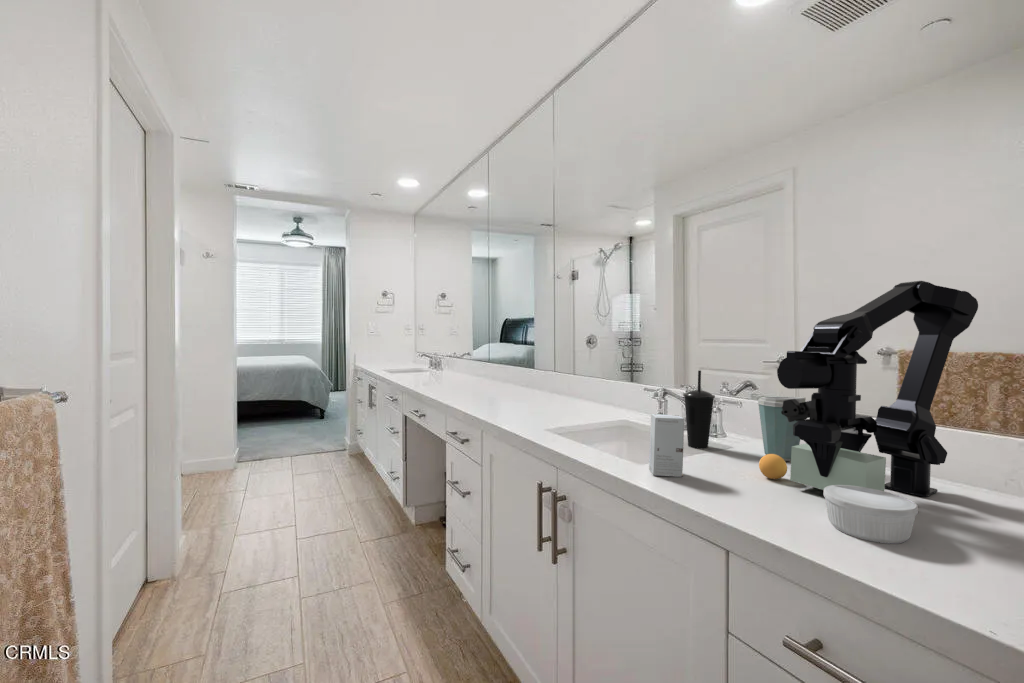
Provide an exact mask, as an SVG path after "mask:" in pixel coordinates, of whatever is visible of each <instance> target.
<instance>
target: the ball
mask: <svg viewBox="0 0 1024 683" xmlns="http://www.w3.org/2000/svg"><path fill="white" fill-rule="evenodd" d="M758 467H759V471H760V472H761V474H762V475H763V476H765V478H768V479H771V480H779V479H781V478H784V477H785V476H786V474H787V472H788V465H787V461H785V460H784V459H783V458H782V457H780V456H778V455H776V454H767V455H766V454H764V456H762V457H761V458H760V459H759V463H758Z"/></svg>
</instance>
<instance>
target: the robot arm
mask: <svg viewBox="0 0 1024 683" xmlns="http://www.w3.org/2000/svg"><path fill="white" fill-rule="evenodd" d="M978 309H979V301H978V299H977V298H976V297H974V296H973V295H972V294H971V293H970V292H969V291H966V290H959V289H956V288H951V287H946V286H940V285H936V284H933V283H931V282H929V281H925V280H917V281H907V282H906V281H905V282H900V283H898V284H895V285H894V286H893V287H892V289H890V290H888V291H886V292H884V293H883V294H881V295H879V296H878V297H876V298H875V299H872V300H871V301H869V302H868V303H866V304H864V305H862V306H860V307H858V308H857V309H856V310H854V311H852V312H849V313H845V314H841V315H837V316H832V317H830V318H826V319H824V320H821V321H818V322H817V323H816V324H815V325H814V326H813V331H812V333H811V334H810V336H809V337H808V339H807V340H806V341H805V344H804V345H803V346H802V347H801V349H800V350H797V351H796V350H787V351H786V357H785V358H783V359H782V360H781V361H780V363H779V365H778V367H777V369H776V374H777V375H776V376H777V379H778V382H779V383H780V385H781V386H783V387H784V388H786V389H789V390H793V389H794V390H797V389H799V390H802V389H803V390H804V389H805V390H806V389H814V390H815V389H816V390H817V392H813V393H812V394H811V396H810V400H808V401H805V402H801V403H799V402H798V401H797V400H796V399H790V400H785V401H783V407H782V411H781V414H782V415H785V416H786V417H787V419H788V422H793V421H797V422H796V423H795V424H794V425H793V435H794V436H798V437H799V438H800V441H804V442H805V444H806V443H807V444H808V445H809V446H810V447H811V450H812V452H813V455H814V458H815V461H816V464H817V467H818V470H819V473H820V475H821V476H823V477H828V476H829V473H830V471H831V469H832V467H833V464H834V462H835V459H836V457H837V454H838V452H839V450H840V448H843V449H847V450H852V451H857V452H861V451H862V450H863V448H865V446H866V444H867V443H868V441H869V439H870V438H872V436H874V438H875V442H876V446H877V449H878V452H879V453H880V454H886V455H890V478H889V479H890V480H889V482H885V489H888V490H893V491H898V492H902V493H906V494H910V495H913V496H917V497H918V496H919V497H922V498H927V497H930V496H932V495H933V494H936V493H937V492H938V491H939V490H938V489H937V488H935V487H931V467H932V466H931V465H934V466H935V465H936V466H940V465H941V464H945V463H946V460H947V456H948V451H947V450H946V449H945V448H944V447H943V445H942V444H941V443H940V442H939V440H938V439H937V438H936V436H935V435H936V434H935V433H936V430H937V429H936V428H937V425H936V422H935V420H934V418H933V416H932V413H931V407H932V405H933V404H932V403H933V402H934V401H933V400H934V399H935V395H936V392H937V389H938V386H939V383H940V380H941V377H942V374H943V371H944V367H945V365H946V362H947V358H948V356H949V353H950V351H951V347H952V344H953V341H954V339H955V338H957V337H958V336H959V335H960V334H961V333H963V332H965V331H966V330H967V329H968V328H969V327H970V326H971V324H972V323H973V319H974V318H975V316H976V314H977V312H978ZM905 312H909V313H912V314H913V319H912V320H913V322H914V324H915V327H916V329H917V331H918V336H917V339H916V341H915V344H914V347H913V350H912V353H911V356H910V359H909V362H908V364H907V368H906V370H905V374H904V376H903V380H902V382H901V386H900V389H899V392H898V393H897V394H898V395H897V398H896V399H895V401H894V402H893V403H892V404H890V405H889V406H885V405H881V406H880V407H879V408H878V409H877V413H876V414H877V415H876V418H875V419H874V417H872V416H870V415H862V414H857V413H856V412H857V402H860V401H862V399H861V398H862V395H861V394H857V373H858V372H857V371H858V370H857V368H858V367H857V366H858V365H866V364H867V363H868V360H867V359H866V358H865V357H863V356H862V355H861V354H859V352H858V351H859V350H860V349H862V348H863V347H864V346H865V345H867V343H869V341H871V340H872V339H873V336H874V334H873V333H874V332H875V331H876V330H877V329H878V328H881V327H882V326H884V325H885V324H887V323H889V322H890V321H892V320H894V319H895V318H898V317H899V316H901V315H902V314H904V313H905ZM864 431H865V432H866V433H865V432H864ZM872 434H873V435H872Z"/></svg>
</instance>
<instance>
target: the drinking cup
mask: <svg viewBox="0 0 1024 683" xmlns="http://www.w3.org/2000/svg"><path fill="white" fill-rule="evenodd" d="M701 378H702V371H701V370H698V371H697V389H693V390H690V391H687V392H686V393H683V396H684V406H685V407H684V408H685V424H686V436H687V446H688V447H689V448H693V449H699V450H701V449H702V450H704V449H708V447H709V441H710V432H711V431H710V430H711V424H712V418H713V417H712V416H713V408H714V399H715V398H716V396H715V394H712V393H710V392H708V391H705V390H702V389H701V387H702V384H701V382H702V381H701V380H702V379H701Z"/></svg>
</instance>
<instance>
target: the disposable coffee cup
mask: <svg viewBox="0 0 1024 683" xmlns="http://www.w3.org/2000/svg"><path fill="white" fill-rule="evenodd" d="M790 399H796V400H797V401H798V402H799V403H801V402H806V397H804V396H760V398H758V400H757V404H758V411H759V413H758V414H759V420H760V427H761V434H762V435H761V436H762V443H763V451H764V455H767V454H776V455H778V456H780V457H782V458H783V459H784V460H785V462H791V450H792V446H796V445H801V443H800V442H801V439H800V438H799V437H798V436H794V435H793V425H794V424H795V423H796V422H797V421H793V422H788V419H787V417H786V416H785V415H782V414H781V411H782V407H783V401H785V400H790Z"/></svg>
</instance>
